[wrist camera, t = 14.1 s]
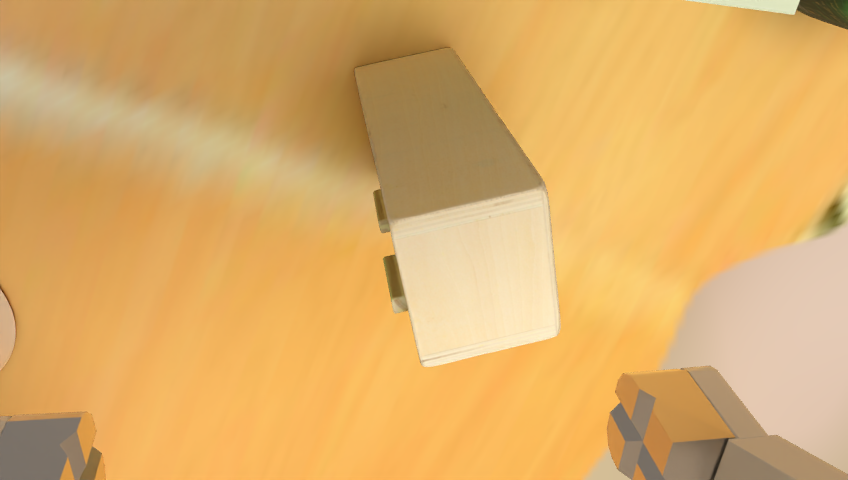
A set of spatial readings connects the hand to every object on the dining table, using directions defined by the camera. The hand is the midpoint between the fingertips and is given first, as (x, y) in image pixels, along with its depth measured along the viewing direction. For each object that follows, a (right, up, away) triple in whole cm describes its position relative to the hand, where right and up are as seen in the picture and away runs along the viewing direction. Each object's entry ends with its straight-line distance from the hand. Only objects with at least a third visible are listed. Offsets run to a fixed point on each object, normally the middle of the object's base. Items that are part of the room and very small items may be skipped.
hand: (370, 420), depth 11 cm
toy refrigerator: (0, +11, +37) cm, 39 cm away
